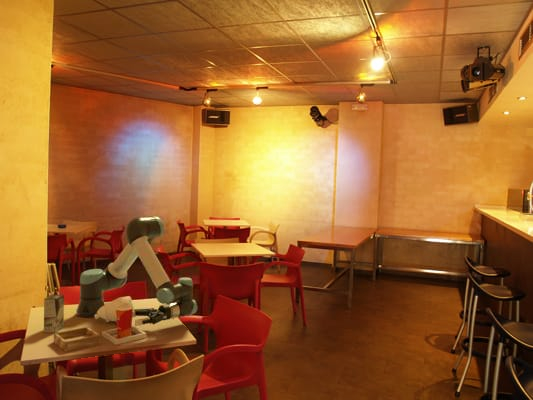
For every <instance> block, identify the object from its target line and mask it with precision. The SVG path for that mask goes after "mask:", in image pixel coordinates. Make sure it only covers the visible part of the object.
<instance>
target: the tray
mask: <svg viewBox="0 0 533 400" xmlns="http://www.w3.org/2000/svg"><path fill="white" fill-rule="evenodd" d="M131 332H133V333H134V334H135V335H131V336H129V337H124V338H116V337H114V336H113V335H115V334H117V327H116V328H113V329H108V330H104V331H101V336H102V337H103V338H105V339H106V340H108V341H109V342H111V343H112V344H114V345H115V346H116V345H119V344H120V345H121V344H124V343H128V342H133V341H137V340H141V339H142V340H143V339H146V338H147V332H145V331H143V330H142V329H139V328H137V326H135V325H132V327H131Z"/></svg>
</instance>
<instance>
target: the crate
mask: <svg viewBox="0 0 533 400" xmlns="http://www.w3.org/2000/svg"><path fill="white" fill-rule="evenodd" d="M53 343H54V344H56V345H57V346H58V347H59V348H60V349H61V350H62V351H63V352H65V353H66V352H71V351H75V349H76V350H80V349H84V348H87V347H88V348H89V347H93V346H98V345H100V344H101V335H100V334H99V333H97V332H96V331H94V330H93V329H92V328H90V327H89V326H84V327H79V328H73V329H68V330H63V331H58V332H53ZM70 350H71V351H70Z"/></svg>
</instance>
